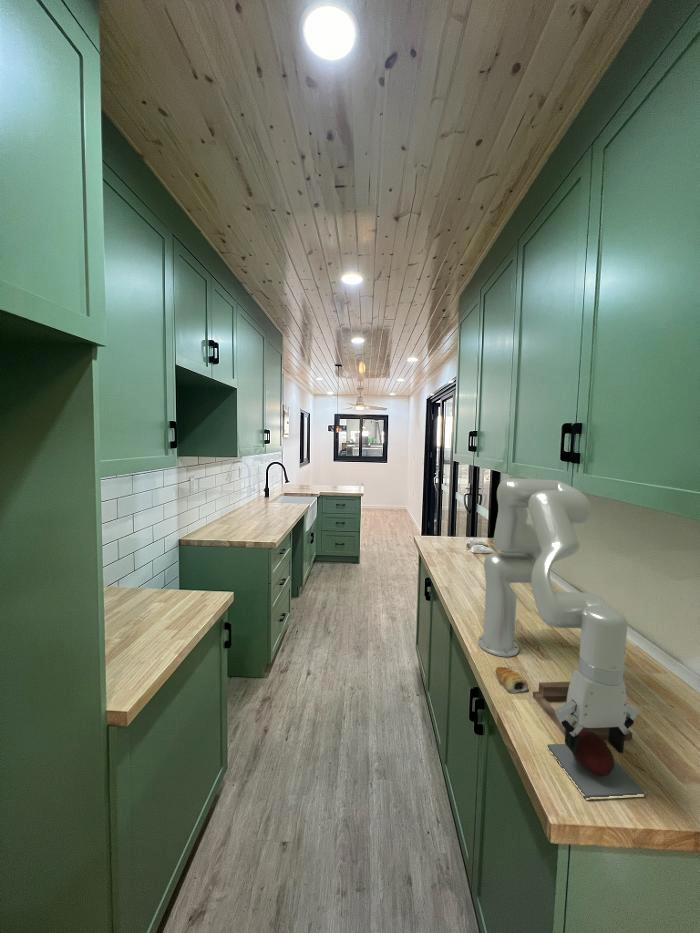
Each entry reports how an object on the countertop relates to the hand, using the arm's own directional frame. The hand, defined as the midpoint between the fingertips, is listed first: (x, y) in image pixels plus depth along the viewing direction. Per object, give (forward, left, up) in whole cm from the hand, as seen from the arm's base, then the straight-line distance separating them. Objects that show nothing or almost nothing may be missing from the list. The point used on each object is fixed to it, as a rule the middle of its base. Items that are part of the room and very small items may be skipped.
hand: (593, 748), depth 77 cm
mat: (0, 0, -5) cm, 5 cm away
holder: (-15, +8, -5) cm, 17 cm away
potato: (0, 0, -4) cm, 4 cm away
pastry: (-28, -3, -5) cm, 28 cm away
